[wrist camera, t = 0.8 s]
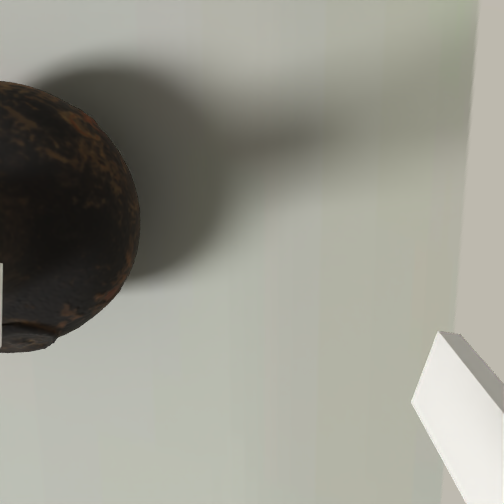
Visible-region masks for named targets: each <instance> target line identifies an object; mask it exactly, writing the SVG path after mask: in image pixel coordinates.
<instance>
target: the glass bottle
mask: <svg viewBox="0 0 504 504" xmlns="http://www.w3.org/2000/svg"><path fill="white" fill-rule="evenodd" d="M139 235H140V208H139V202H138V196H137V192H136V189H135V186H134V182H133V180H132V177H131V174H130V172H129V169H128V167H127V165H126V164H125V162H124V160H123V158H122V156H121V155H120V153H119V151H118V150H117V148H116V147H115V145H114V144H113V143H112V142H111V140H110V139H109V138H108V137H107V135H106V134H105V133H104V132H103V131H102V130H101V129H100V127H99V126H98V124H97V123H96V122H95V120H94V119H93V118H92V117H90V116H88V115H87V114H85V113H84V112H83V111H82V110H80V109H78V108H75V107H74V106H72V105H70V104H68V103H66V102H65V101H63V100H61V99H59V98H57V97H55V96H53V95H51V94H48V93H46V92H44V91H41V90H38V89H35V88H33V87H29V86H26V85H22V84H17V83H12V82H5V81H0V263H3V285H2V346H1V348H0V353H15V352H30V351H35V350H40V349H45V348H47V347H48V346H50V345H51V344H52V343H54V342H55V341H56V339H57V338H58V337H60V336H63V335H65V334H67V333H69V332H71V331H73V330H75V329H77V328H79V327H80V326H82V325H83V324H84V323H86V322H87V321H88V320H90V319H91V318H93V317H94V316H95V315H96V314H98V313H99V312H100V311H101V310H102V309H103V308H104V307H106V306H107V305H108V304H109V303H110V302H111V301H112V300H113V299H114V297H115V296H116V295H117V294H118V293H119V291H120V290H121V287H122V286H123V284H124V282H125V280H126V278H127V276H128V275H129V272H130V270H131V268H132V266H133V263H134V260H135V257H136V253H137V249H138V242H139Z"/></svg>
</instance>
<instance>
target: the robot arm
mask: <svg viewBox="0 0 504 504" xmlns="http://www.w3.org/2000/svg"><path fill="white" fill-rule="evenodd" d="M2 285H3V263H0V348H1V346H2ZM411 403H412V405H413V407H414V409H415V410H416V412H417V414H418V416H419V418H420V420H421V421H422V423H423V425H424V427H425V429H426V431H427V432H428V434H429V436H430V438H431V440H432V442H433V444H434V445H435V447H436V449H437V451H438V453H439V455H440V456H441V458H442V460H443V462H444V464H445V466H446V467H447V469H448V471H449V473H450V475H451V476H452V478H453V480H454V482H455V484H456V485H457V488H458V489H459V491H460V493H461V495H462V497H463V499H464V500H465V502H466V504H504V384H503V382H502V381H501V380H500V379H499V378H498V377H497V376H496V374H495V373H494V372H493V371H492V370H491V368H490V367H489V366H488V365H487V364H486V363H485V362H484V360H483V359H482V358H481V357H480V356H479V355H478V354H477V352H476V351H475V350H474V349H473V348H472V347H471V345H469V343H468V342H467V341H466V340H465V339H464V337H463V336H462V335H461V334H455V333H449V332H443V331H438V332H437V335H436V337H435V340H434V343H433V345H432V348H431V351H430V353H429V356H428V359H427V361H426V364H425V367H424V369H423V372H422V375H421V377H420V380H419V383H418V385H417V388H416V391H415V393H414V396H413V399H412V401H411Z"/></svg>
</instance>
